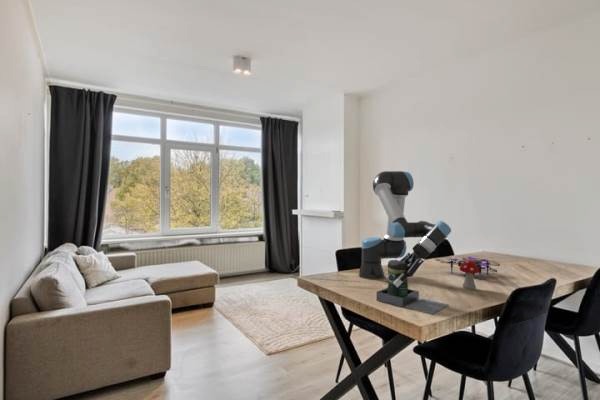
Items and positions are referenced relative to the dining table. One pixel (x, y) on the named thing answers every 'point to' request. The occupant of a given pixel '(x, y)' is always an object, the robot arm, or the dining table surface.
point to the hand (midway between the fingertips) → (391, 282)
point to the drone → (478, 262)
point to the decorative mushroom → (469, 274)
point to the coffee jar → (393, 273)
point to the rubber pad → (427, 306)
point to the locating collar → (397, 300)
